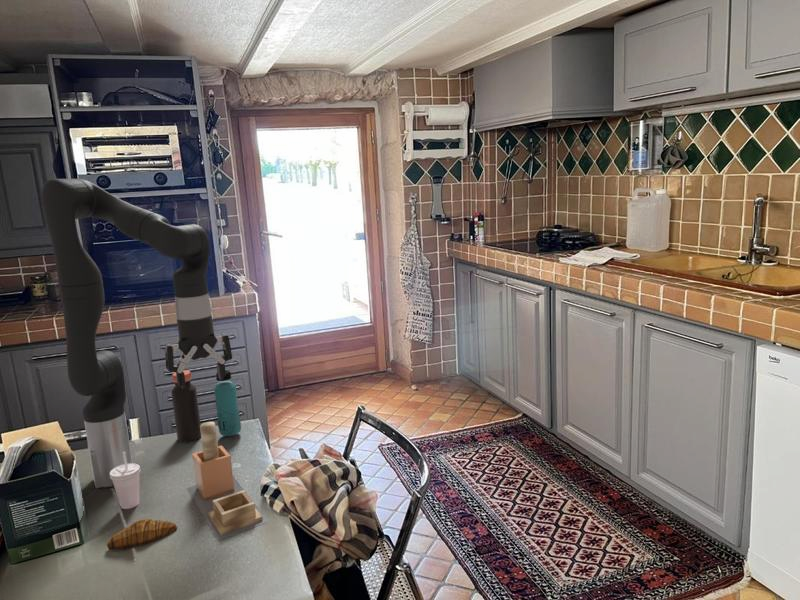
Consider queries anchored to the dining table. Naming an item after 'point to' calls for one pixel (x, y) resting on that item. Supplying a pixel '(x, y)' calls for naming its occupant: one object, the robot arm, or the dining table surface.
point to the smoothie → (126, 483)
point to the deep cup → (213, 474)
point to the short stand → (234, 512)
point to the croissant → (140, 533)
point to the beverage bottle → (227, 406)
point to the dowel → (209, 441)
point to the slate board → (207, 507)
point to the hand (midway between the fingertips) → (202, 383)
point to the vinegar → (186, 410)
